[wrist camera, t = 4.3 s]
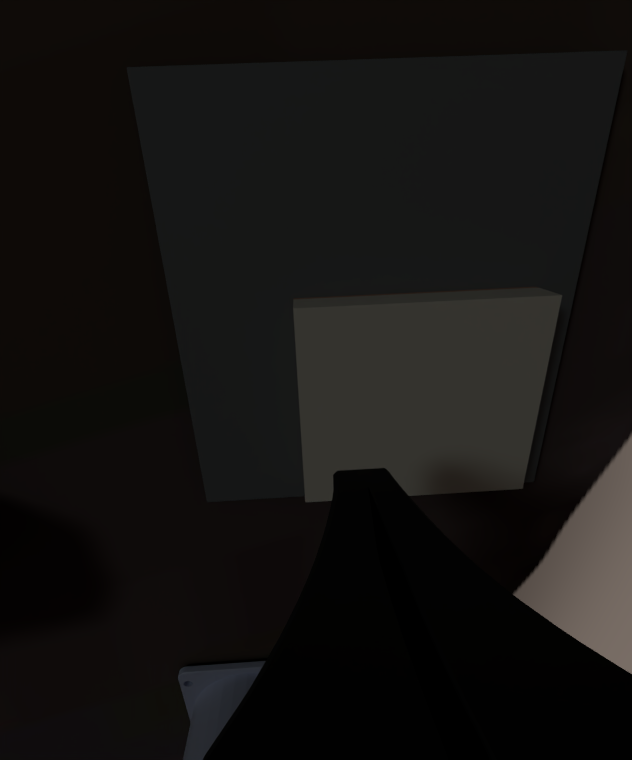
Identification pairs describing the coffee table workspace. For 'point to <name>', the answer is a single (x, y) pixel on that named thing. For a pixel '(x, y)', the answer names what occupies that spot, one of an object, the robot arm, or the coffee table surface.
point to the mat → (355, 213)
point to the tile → (422, 386)
